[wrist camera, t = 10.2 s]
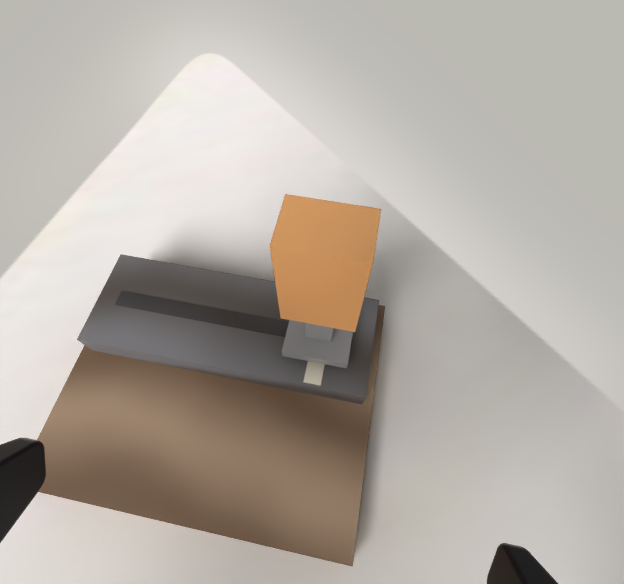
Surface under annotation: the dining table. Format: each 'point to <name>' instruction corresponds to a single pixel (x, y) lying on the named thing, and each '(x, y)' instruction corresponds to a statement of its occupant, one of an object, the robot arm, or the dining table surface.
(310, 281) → the cap
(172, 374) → the fader console
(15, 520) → the robot arm
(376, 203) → the dining table surface
